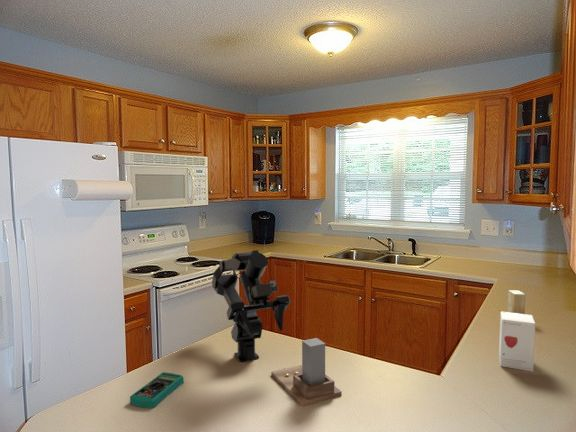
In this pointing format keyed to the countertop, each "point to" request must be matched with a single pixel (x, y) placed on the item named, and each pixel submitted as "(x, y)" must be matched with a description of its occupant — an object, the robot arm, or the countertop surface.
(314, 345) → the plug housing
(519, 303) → the skincare box
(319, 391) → the walnut holder
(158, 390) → the digital multimeter
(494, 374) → the countertop surface
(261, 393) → the countertop surface
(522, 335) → the supplement box
